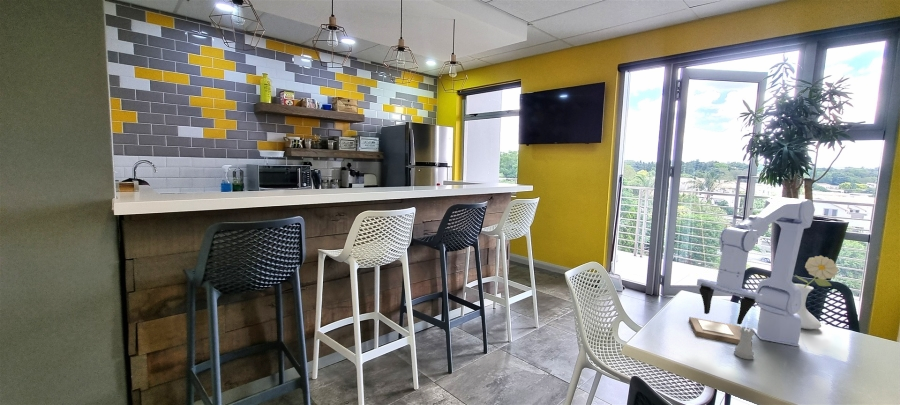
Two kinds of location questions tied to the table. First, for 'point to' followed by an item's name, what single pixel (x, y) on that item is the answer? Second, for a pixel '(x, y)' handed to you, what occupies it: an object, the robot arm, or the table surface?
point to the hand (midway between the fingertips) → (722, 318)
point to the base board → (716, 330)
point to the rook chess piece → (745, 344)
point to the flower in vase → (819, 269)
